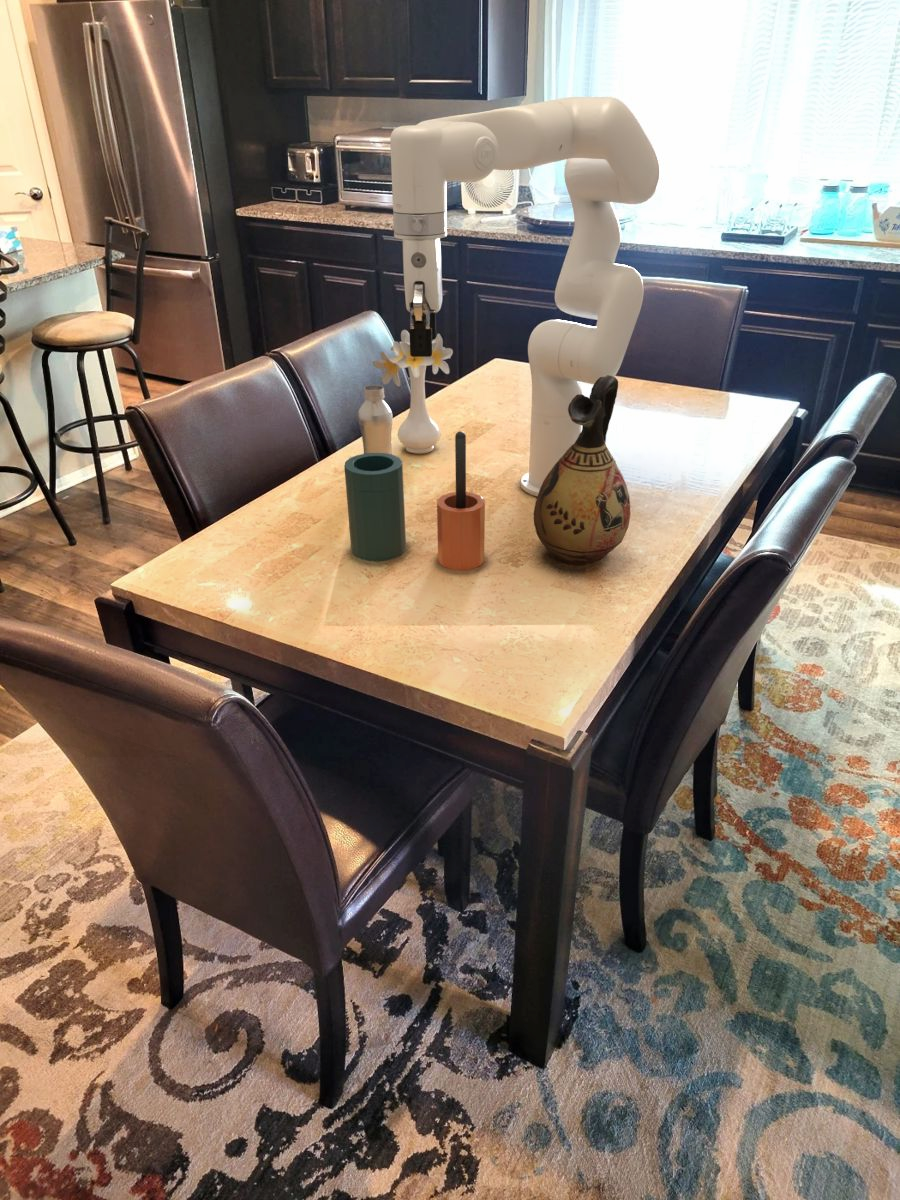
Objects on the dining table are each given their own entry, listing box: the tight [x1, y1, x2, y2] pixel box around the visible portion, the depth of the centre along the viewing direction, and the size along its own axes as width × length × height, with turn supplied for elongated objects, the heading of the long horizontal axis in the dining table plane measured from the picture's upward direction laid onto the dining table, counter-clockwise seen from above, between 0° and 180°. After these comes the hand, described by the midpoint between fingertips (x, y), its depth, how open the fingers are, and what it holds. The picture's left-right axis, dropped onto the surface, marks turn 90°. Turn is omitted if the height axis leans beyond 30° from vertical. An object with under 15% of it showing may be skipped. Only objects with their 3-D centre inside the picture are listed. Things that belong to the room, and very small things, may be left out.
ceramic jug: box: [533, 375, 631, 571], centre depth 135 cm, size 17×15×30 cm
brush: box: [454, 431, 467, 509], centre depth 135 cm, size 3×3×22 cm
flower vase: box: [372, 329, 454, 455], centre depth 178 cm, size 13×18×25 cm
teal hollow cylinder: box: [344, 453, 407, 562], centre depth 140 cm, size 9×9×16 cm
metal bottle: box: [357, 384, 394, 455], centre depth 163 cm, size 6×7×20 cm
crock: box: [436, 491, 486, 571], centre depth 138 cm, size 8×8×11 cm
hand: (423, 347), depth 129 cm, fingers open, 9 cm apart
